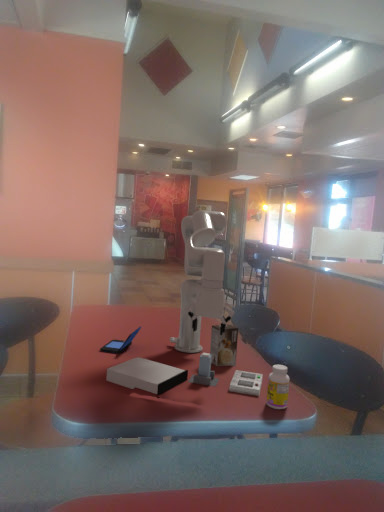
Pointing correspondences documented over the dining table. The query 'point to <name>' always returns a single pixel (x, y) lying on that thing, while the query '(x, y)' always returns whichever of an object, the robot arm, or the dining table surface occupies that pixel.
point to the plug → (205, 364)
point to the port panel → (246, 383)
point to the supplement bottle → (278, 387)
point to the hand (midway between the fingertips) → (208, 332)
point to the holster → (204, 379)
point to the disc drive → (146, 375)
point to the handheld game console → (119, 344)
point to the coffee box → (224, 345)
